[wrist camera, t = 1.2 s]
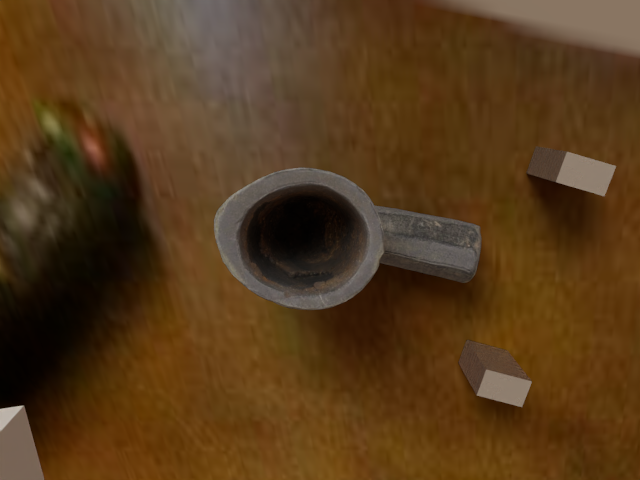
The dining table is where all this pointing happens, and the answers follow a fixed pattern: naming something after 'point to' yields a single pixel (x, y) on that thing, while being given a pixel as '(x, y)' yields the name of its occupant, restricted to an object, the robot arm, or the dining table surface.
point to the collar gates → (497, 364)
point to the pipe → (331, 239)
